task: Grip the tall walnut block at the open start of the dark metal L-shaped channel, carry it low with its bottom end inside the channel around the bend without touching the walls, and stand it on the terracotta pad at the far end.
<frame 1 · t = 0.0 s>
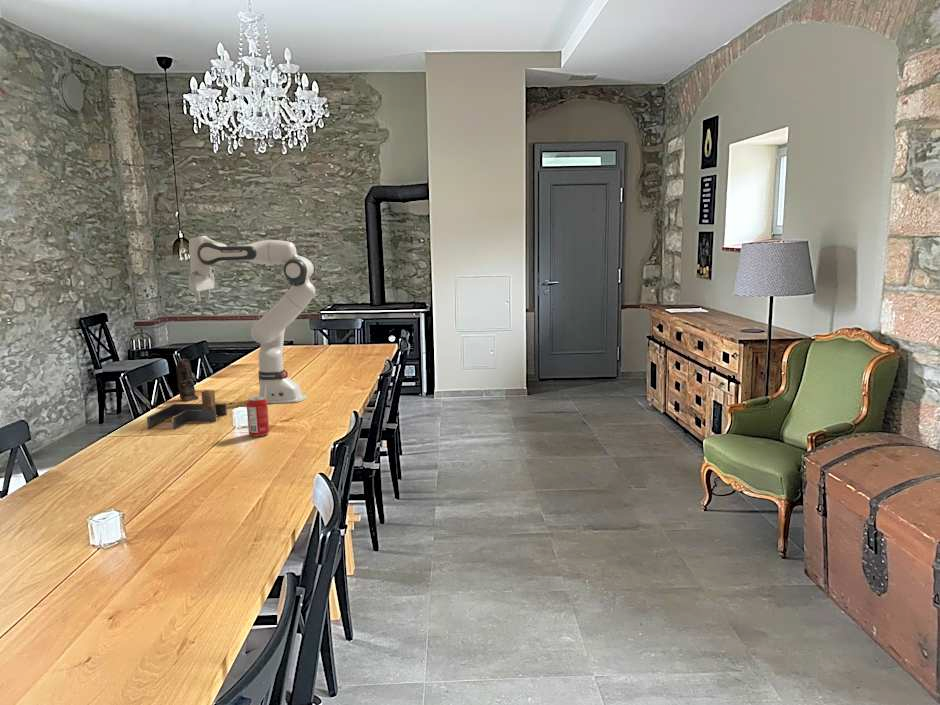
hand: (203, 300, 343), 48 cm above the table, tool pointing down, fingers open, 8 cm apart
statue: (188, 399, 352), on the table
channel: (189, 421, 311), on the table
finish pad: (167, 425, 304), on the table
walnut block: (210, 418, 315), on the table
soda can: (259, 435, 288), on the table
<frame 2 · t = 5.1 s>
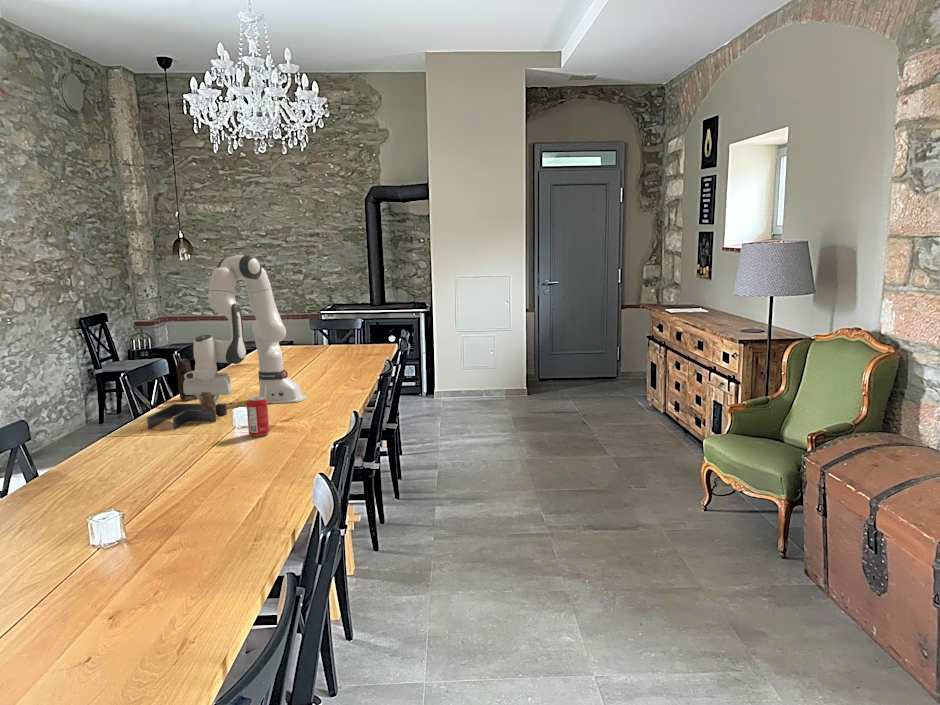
hand: (208, 404, 314), 6 cm above the table, tool pointing down, fingers closed on walnut block, 4 cm apart
walnut block: (210, 418, 315), on the table, touching gripper
everything else where it was.
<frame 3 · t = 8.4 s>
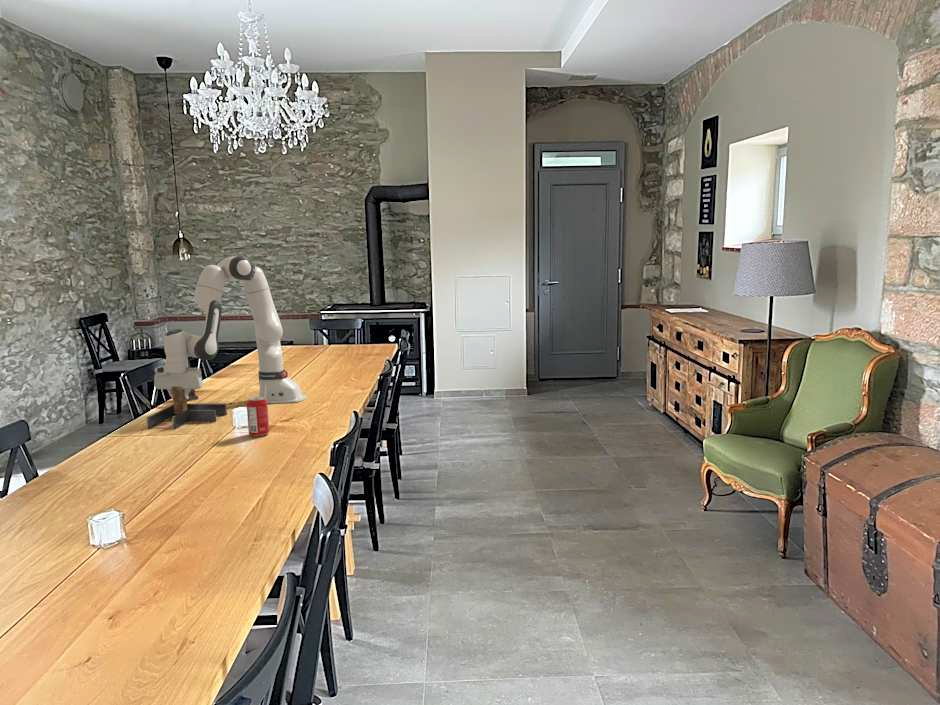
hand: (180, 398, 315), 9 cm above the table, tool pointing down, fingers closed on walnut block, 4 cm apart
walnut block: (181, 412, 316), point 3 cm above the table, touching gripper
everything else where it was.
when the fingers open (7 cm above the table, at t = 11.7 s): walnut block stays where it is, resting on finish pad.
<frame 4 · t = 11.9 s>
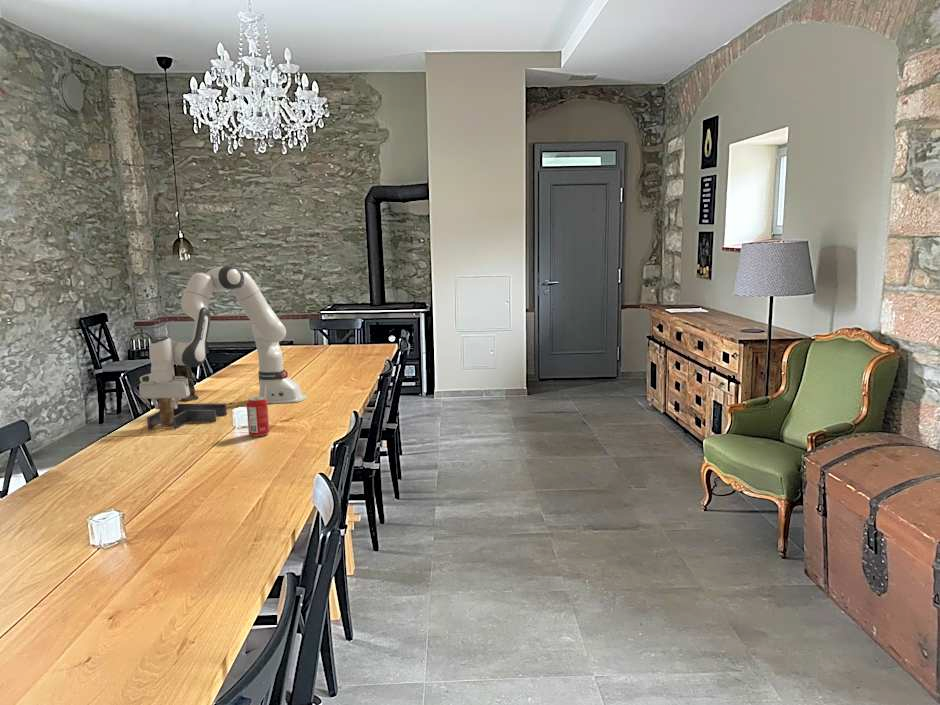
hand: (166, 408, 303), 7 cm above the table, tool pointing down, fingers open, 6 cm apart
walnut block: (167, 425, 304), resting on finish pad
everything else where it was.
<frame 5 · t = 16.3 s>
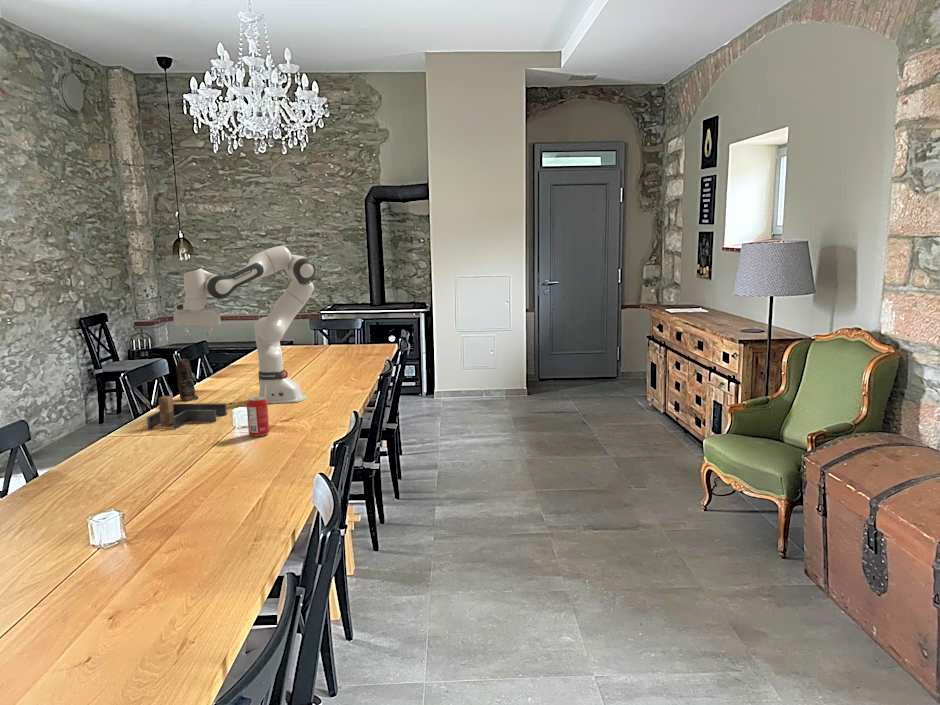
hand: (198, 336, 323), 34 cm above the table, tool pointing down, fingers open, 8 cm apart
nothing on the table moved.
at the end: walnut block 0.1 cm from the target spot, resting on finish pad; walnut block tilted 0°; walnut block touching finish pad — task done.
